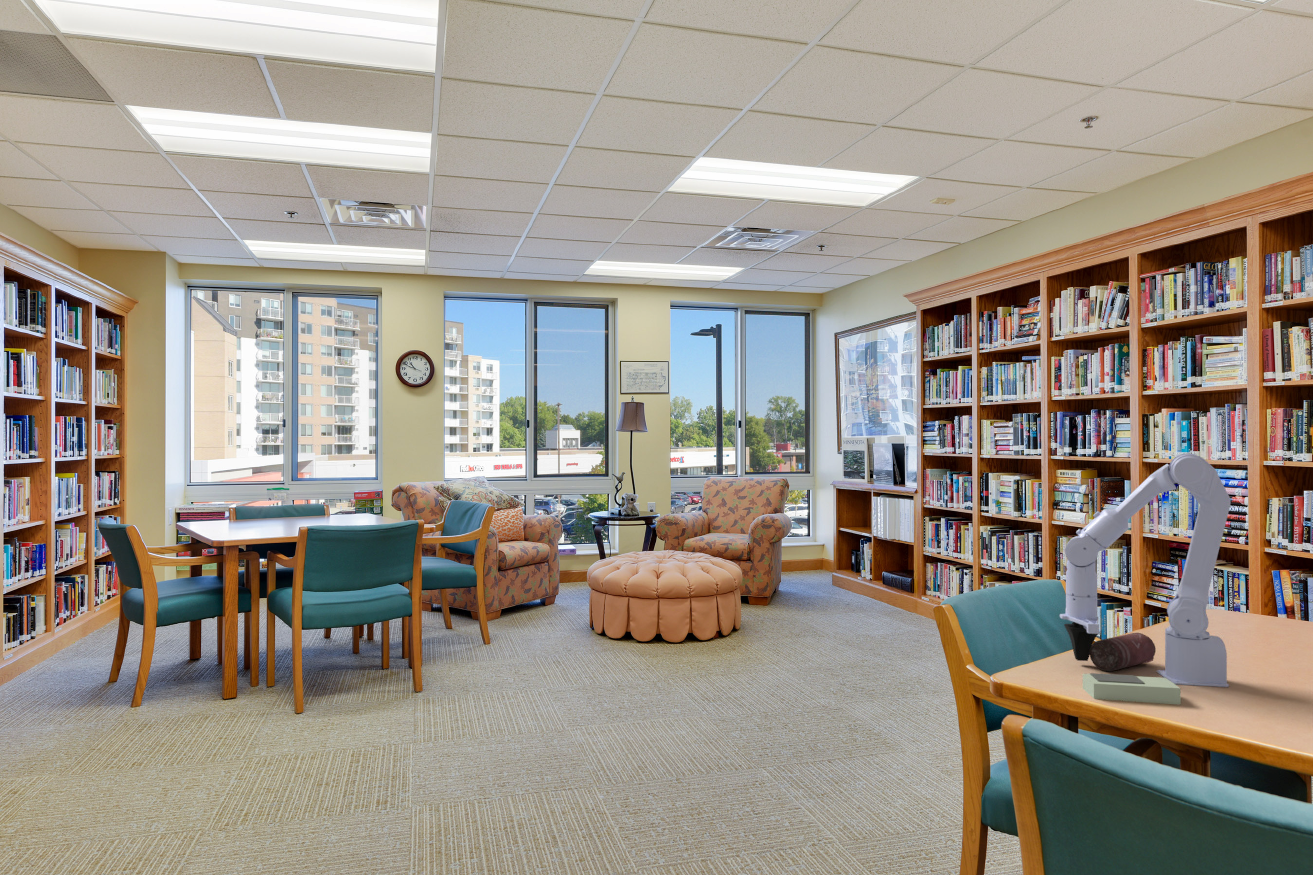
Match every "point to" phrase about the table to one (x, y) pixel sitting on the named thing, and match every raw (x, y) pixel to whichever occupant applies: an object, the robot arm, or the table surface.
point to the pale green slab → (1131, 688)
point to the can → (1122, 651)
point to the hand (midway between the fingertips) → (1081, 659)
